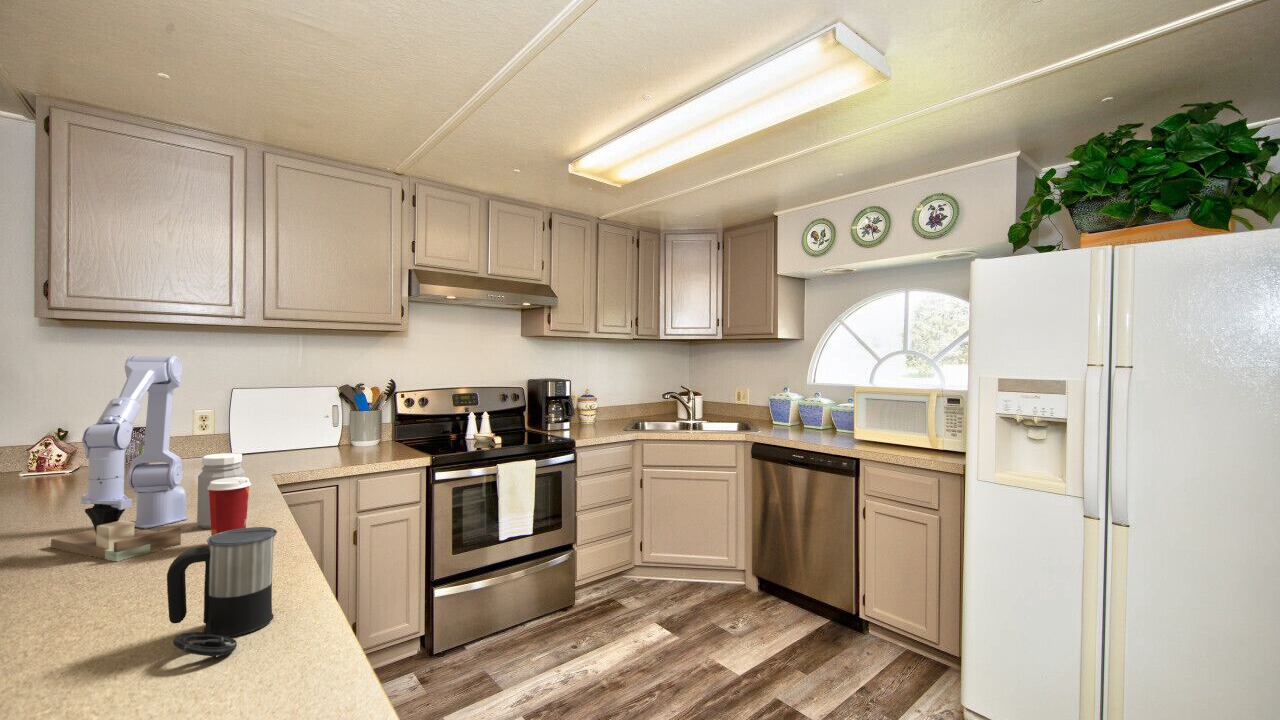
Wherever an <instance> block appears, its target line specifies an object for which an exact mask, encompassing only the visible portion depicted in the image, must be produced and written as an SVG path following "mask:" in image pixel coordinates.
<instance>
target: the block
mask: <svg viewBox="0 0 1280 720" xmlns="http://www.w3.org/2000/svg"><path fill="white" fill-rule="evenodd" d="M134 522H135V521H133V522H132V521H128V520H123V519H122V520H118V521H117V522H112V523H107V524H103V525H98V526H97V537H96V546H97V547H101V548H106V549H111V548H114V542H118V541H122V540H126V539H130V538H134V532H135V523H134Z"/></svg>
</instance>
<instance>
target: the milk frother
mask: <svg viewBox="0 0 1280 720" xmlns="http://www.w3.org/2000/svg"><path fill="white" fill-rule="evenodd" d="M277 533H278V530H277V529H275V528H273V527H267V526H266V527H265V526H253V527H251V526H250V527H246V528H241V529H235V530H229V531H225V532H221V533H217V534H215V535H212V536H211V535H209V537H208V538H207V539H206V542H207V543H208V545H203V546H199V547H193V548H190V549H188V550H185V551H184V552H182V553H181V554H179V555H178V556H177V557H176V558H175V559H174V560H173V561H172V562H171V563H170V566H169V567H168V570H167V574H166V588H167V589H166V591H167V593H166V594H167V605H168V606H167V607H168V618H169V622H170V623H172V624H179V623H181V622H183V620H184V619H185V618H186V615H187V611H188V607H187V587H186V586H187V585H186V571H187V569H188V567H189V566H191V565H192V564H195V563H203V562H204V563H205V571H204V585H203V586H204V590H203V591H204V592H203V623H204V624H205V627H204V628H203V631H201V632H200V631H196V632H188V633H187V632H184V633H180V634H178V635H176V636H175V637H174V638H173V641H172V644H173V646H174V647H175V648H177V649H179V650H181V651H183V652H186V653H189V654H192V655H197V656H205V657H213V659H214V658H216V659H217V656H224V655H228V654H230V653H232V652H234V651H235V650H236V648H237V640H235V639H234V638H232V637H238V635H239V636H243V635H247V634H250V633H253V632H256V631H258V630H260V629H263V628H264V627H266V626H268V625H269V624H270V623H271V622H272V621H273V620H272V619H274V614H273V601H272V600H273V595H272V594H273V593H272V590H273V567H274V566H273V563H274V562H273V561H274V542H275V541H274V539H275V537H276V535H277ZM271 620H272V621H271ZM270 621H271V622H270ZM269 622H270V623H269ZM268 623H269V624H268ZM267 624H268V625H267ZM265 625H266V626H265ZM259 628H260V629H259ZM257 629H258V630H257ZM255 630H256V631H255ZM252 631H253V632H252ZM249 632H250V633H249ZM246 633H247V634H246ZM242 634H243V635H242Z"/></svg>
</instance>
